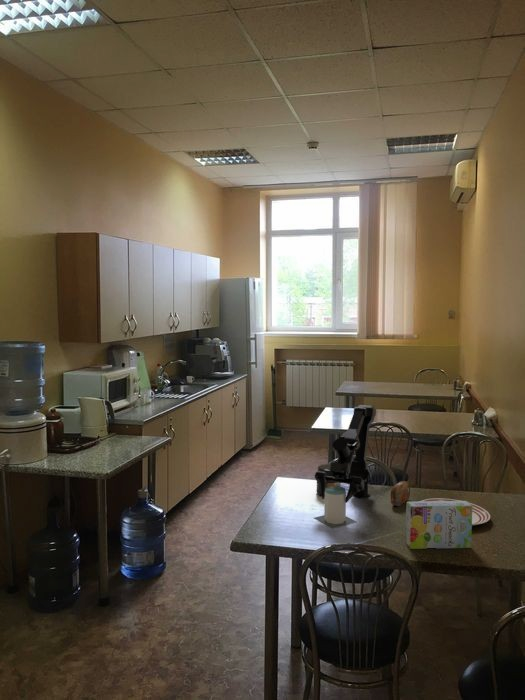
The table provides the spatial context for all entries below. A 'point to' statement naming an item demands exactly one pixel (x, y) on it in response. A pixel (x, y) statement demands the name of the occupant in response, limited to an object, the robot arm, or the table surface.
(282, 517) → the table surface
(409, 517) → the snack box
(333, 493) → the white canister
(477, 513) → the dinner plate
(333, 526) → the mat
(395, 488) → the tin
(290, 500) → the table surface
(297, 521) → the table surface
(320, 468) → the supplement container
